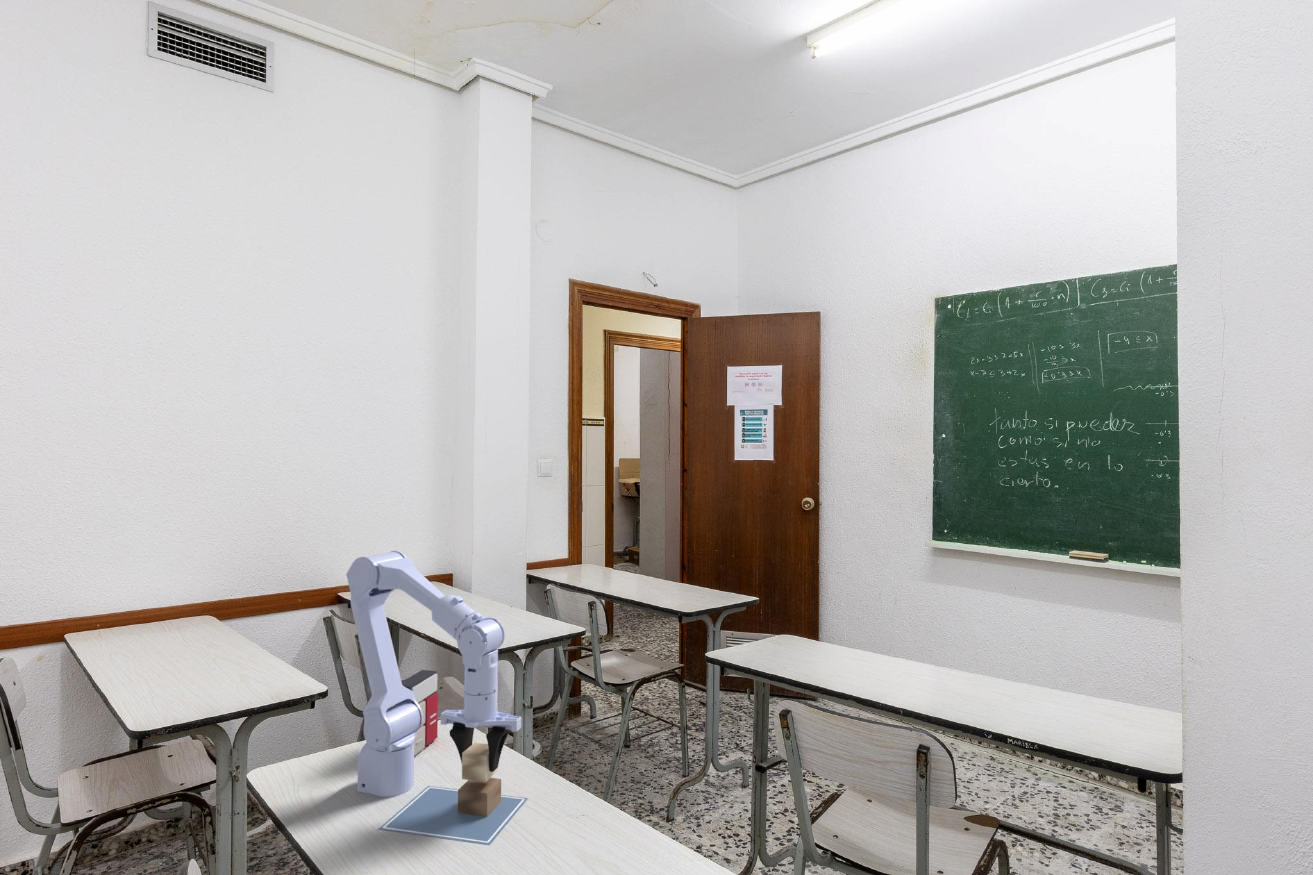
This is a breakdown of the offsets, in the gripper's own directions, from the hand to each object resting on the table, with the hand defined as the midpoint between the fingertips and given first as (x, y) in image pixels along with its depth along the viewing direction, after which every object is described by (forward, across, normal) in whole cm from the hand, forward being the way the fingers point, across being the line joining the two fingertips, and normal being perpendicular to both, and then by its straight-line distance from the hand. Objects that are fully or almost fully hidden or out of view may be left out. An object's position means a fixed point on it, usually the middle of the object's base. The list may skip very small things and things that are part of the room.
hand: (480, 767), depth 125 cm
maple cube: (+1, 0, 0) cm, 1 cm away
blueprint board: (+8, -3, -3) cm, 9 cm away
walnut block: (+7, 0, 0) cm, 7 cm away
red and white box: (+8, -25, +21) cm, 34 cm away
